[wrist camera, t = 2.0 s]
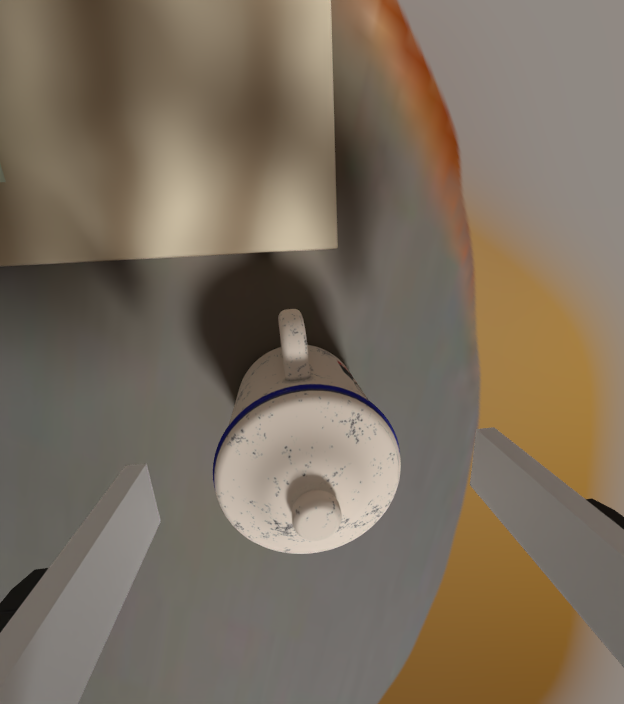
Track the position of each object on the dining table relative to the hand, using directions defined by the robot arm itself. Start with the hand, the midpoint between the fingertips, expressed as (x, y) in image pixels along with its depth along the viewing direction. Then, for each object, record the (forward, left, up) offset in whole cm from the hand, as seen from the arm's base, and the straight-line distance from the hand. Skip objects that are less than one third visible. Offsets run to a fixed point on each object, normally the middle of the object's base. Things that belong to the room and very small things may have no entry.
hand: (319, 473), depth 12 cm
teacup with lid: (0, 0, -11) cm, 11 cm away
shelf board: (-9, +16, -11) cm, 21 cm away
